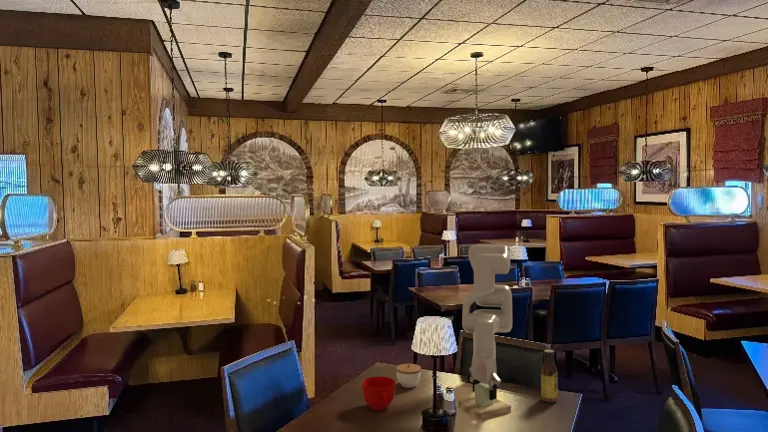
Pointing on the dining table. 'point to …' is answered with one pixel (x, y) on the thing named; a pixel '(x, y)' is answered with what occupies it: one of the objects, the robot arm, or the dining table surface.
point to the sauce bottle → (549, 378)
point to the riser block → (484, 408)
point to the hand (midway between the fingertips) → (484, 395)
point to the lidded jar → (408, 375)
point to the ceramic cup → (378, 392)
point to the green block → (482, 395)
